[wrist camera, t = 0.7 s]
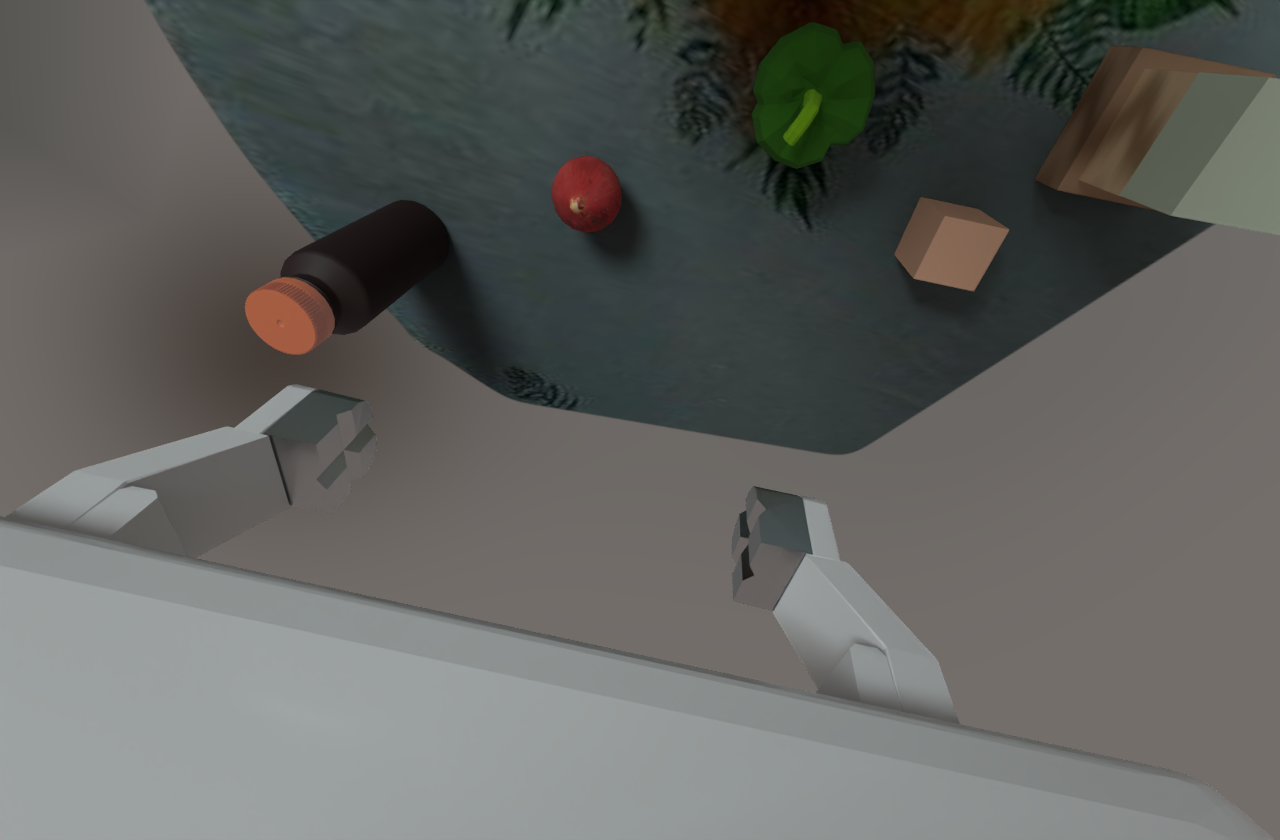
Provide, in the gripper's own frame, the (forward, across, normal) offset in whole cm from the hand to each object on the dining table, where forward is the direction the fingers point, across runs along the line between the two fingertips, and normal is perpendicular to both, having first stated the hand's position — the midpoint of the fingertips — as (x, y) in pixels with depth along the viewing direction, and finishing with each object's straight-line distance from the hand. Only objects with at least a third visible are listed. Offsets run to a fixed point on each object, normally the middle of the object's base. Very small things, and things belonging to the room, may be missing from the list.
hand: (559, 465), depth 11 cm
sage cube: (+33, -33, -8) cm, 47 cm away
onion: (+42, +7, +4) cm, 42 cm away
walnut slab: (+42, -33, -8) cm, 54 cm away
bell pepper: (+42, -8, -6) cm, 43 cm away
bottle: (+42, +24, +12) cm, 49 cm away
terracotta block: (+42, -23, +2) cm, 48 cm away
